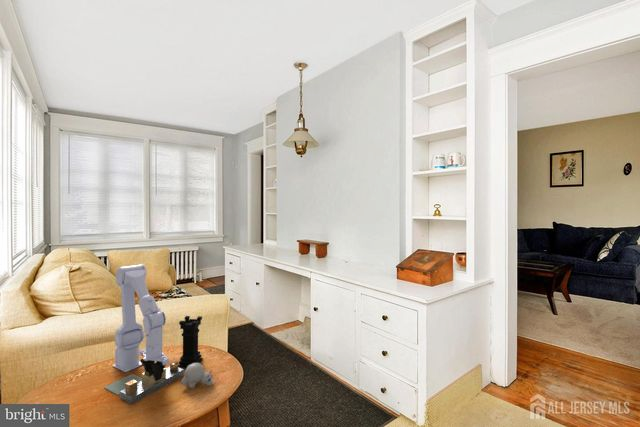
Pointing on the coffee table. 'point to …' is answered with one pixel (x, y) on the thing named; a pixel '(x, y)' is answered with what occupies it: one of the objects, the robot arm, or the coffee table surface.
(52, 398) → the coffee table surface
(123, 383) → the rubber mat
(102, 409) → the coffee table surface
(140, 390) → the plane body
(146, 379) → the pale yellow block
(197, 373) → the chubby cartoon animal
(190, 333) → the chess piece
